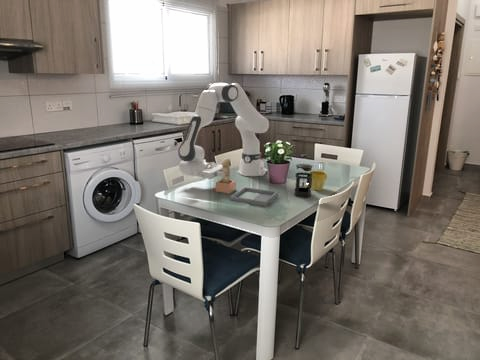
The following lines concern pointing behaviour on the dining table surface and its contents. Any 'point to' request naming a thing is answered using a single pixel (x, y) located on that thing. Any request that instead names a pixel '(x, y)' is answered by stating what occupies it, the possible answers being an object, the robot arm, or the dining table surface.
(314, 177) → the yellow cup
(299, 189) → the french press
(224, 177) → the wooden block tower
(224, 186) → the salmon square socket block
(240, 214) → the dining table surface
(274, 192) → the charcoal tray
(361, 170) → the dining table surface
